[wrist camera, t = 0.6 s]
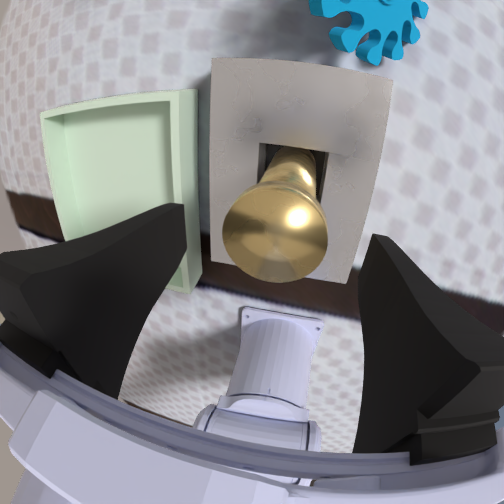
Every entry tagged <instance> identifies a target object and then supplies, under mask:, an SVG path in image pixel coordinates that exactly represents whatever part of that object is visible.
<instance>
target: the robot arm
mask: <svg viewBox="0 0 504 504" xmlns="http://www.w3.org/2000/svg"><path fill="white" fill-rule="evenodd" d="M186 250H187V238H186V225H185V211H184V204H179V203H166V204H163V205H160V206H157V207H155V208H152V209H150V210H148V211H145V212H143V213H141V214H138V215H136V216H134V217H131V218H129V219H127V220H124V221H122V222H119V223H117V224H115V225H112V226H110V227H108V228H105V229H102V230H100V231H97V232H94V233H91V234H88V235H85V236H83V237H79V238H76V239H72V240H68V241H65V242H61V243H58V244H53V245H49V246H44V247H39V248H33V249H27V250H19V251H10V252H3V253H1V254H0V312H1V313H2V315H3V317H4V318H5V320H4V322H3V323H2V324H0V417H1V418H2V419H3V420H4V422H5V423H6V424H7V425H8V426H9V427H10V428H11V429H12V430H13V433H12V435H11V437H10V439H9V443H8V445H9V447H10V450H11V453H12V454H13V455H14V456H15V457H16V458H17V459H18V460H19V462H20V463H21V464H22V465H23V466H25V468H26V469H25V471H24V473H23V475H22V478H21V480H20V482H19V484H18V486H17V489H16V491H15V494H14V496H13V498H12V501H11V503H10V504H497V503H499V502H501V501H503V500H504V427H502V428H500V429H498V430H496V431H495V425H494V423H496V422H497V421H499V418H500V416H499V411H498V409H500V408H501V407H502V406H503V405H504V337H502V336H501V335H499V334H498V333H496V332H495V331H493V330H492V329H490V328H489V327H487V326H485V325H484V324H483V323H481V322H480V321H478V320H477V319H476V318H474V317H473V316H472V315H470V314H469V313H468V312H467V311H465V310H464V309H463V308H461V307H460V306H459V305H458V304H456V303H455V302H454V301H453V300H452V299H451V298H450V297H449V296H447V295H446V294H445V293H444V292H443V291H442V290H441V289H440V288H439V287H437V286H436V285H435V284H434V283H433V282H432V281H431V280H430V279H429V278H428V277H427V276H426V275H425V274H424V273H423V272H422V271H421V269H420V268H419V267H418V266H417V265H416V264H415V263H414V262H413V261H412V260H411V259H410V258H409V257H408V256H407V255H406V254H405V253H404V252H403V250H402V249H401V248H400V247H399V246H398V245H397V244H396V243H395V242H394V241H393V240H391V239H390V238H389V237H388V236H383V235H378V234H372V237H371V240H370V243H369V247H368V250H367V253H366V256H365V259H364V262H363V265H362V268H361V271H360V273H359V276H358V300H359V308H360V317H361V325H362V334H363V343H364V380H363V392H362V402H361V409H360V416H359V423H358V429H357V434H356V438H355V443H354V448H353V452H352V453H330V452H320V449H321V429H320V427H319V426H318V425H317V423H316V422H315V421H308V417H309V410H308V409H306V405H307V397H308V388H309V379H310V369H311V359H312V356H313V354H314V351H315V348H316V346H317V343H318V340H319V338H320V335H321V332H322V330H323V327H324V322H323V321H322V320H319V319H313V318H307V317H300V316H294V315H288V314H283V313H277V312H271V311H266V310H260V309H255V308H250V307H244V308H243V310H242V320H241V342H240V351H239V354H238V357H237V361H236V364H235V367H234V370H233V374H232V377H231V380H230V383H229V387H228V390H227V393H226V396H222V395H221V396H220V398H219V401H218V404H217V405H214V404H210V405H208V406H207V407H206V408H204V409H203V410H201V411H200V413H199V414H198V416H197V418H196V420H195V422H194V425H193V428H191V427H188V426H185V425H182V424H178V423H175V422H172V421H169V420H167V419H164V418H161V417H158V416H155V415H153V414H150V413H147V412H145V411H142V410H140V409H137V408H135V407H132V406H130V405H128V404H125V403H123V402H120V401H118V396H119V392H120V388H121V385H122V381H123V378H124V374H125V371H126V368H127V365H128V363H129V360H130V357H131V354H132V351H133V349H134V346H135V344H136V341H137V339H138V337H139V334H140V332H141V330H142V328H143V325H144V323H145V321H146V319H147V317H148V315H149V313H150V311H151V310H152V308H153V306H154V305H155V303H156V301H157V300H158V298H159V297H160V295H161V294H162V292H163V291H164V289H165V288H166V286H167V284H168V283H169V281H170V280H171V278H172V277H173V275H174V274H175V272H176V270H177V269H178V267H179V265H180V263H181V261H182V259H183V257H184V254H185V252H186ZM247 315H248V316H247ZM317 327H319V328H317ZM101 420H102V421H101ZM103 421H104V422H103ZM105 422H106V423H105ZM107 423H108V424H107ZM109 424H110V425H109ZM124 431H125V432H124ZM133 435H134V436H133ZM140 438H141V439H140ZM145 440H146V441H145ZM150 442H151V443H150ZM155 444H156V445H155ZM166 448H167V449H166ZM312 479H316V480H317V481H315V482H314V486H313V487H309V485H310V482H311V481H312Z"/></svg>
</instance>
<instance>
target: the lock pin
mask: <svg viewBox="0 0 504 504" xmlns="http://www.w3.org/2000/svg"><path fill="white" fill-rule="evenodd" d="M222 239H223V243H224V246H225V249H226V251H227V253H228V255H229V256H230V258H231V259H232V261H233V262H234V263H235V264H236V265H237V266H238V267H239V268H240V269H242V270H243V271H244V272H246V273H247V274H249V275H251V276H253V277H255V278H258V279H260V280H264V281H268V282H277V283H283V282H291V281H295V280H298V279H301V278H303V277H305V276H307V275H309V274H310V273H311V272H313V271H314V270H315V269H316V268H317V267H318V266H319V265H320V263H321V262H322V260H323V258H324V256H325V254H326V251H327V246H328V228H327V219H326V216H325V213H324V210H323V208H322V206H321V205H320V203H319V202H318V201H317V200H316V162H315V158H314V156H313V155H312V153H311V152H310V151H309V150H308V149H305V148H299V147H291V146H284V147H282V148H280V149H279V150H278V151H277V152H276V154H275V155H274V157H273V159H272V161H271V163H270V164H269V166H268V168H267V170H266V172H265V173H264V175H263V177H262V179H261V181H260V182H259V183H258V184H255V185H253V186H251V187H249V188H248V189H246V190H245V191H244V192H242V193H241V194H240V195H239V196H238V198H237V199H236V200H235V202H234V203H233V205H232V206H231V208H230V210H229V211H228V213H227V215H226V217H225V219H224V222H223V227H222Z"/></svg>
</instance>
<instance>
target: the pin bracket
mask: <svg viewBox="0 0 504 504" xmlns="http://www.w3.org/2000/svg"><path fill="white" fill-rule="evenodd" d="M392 85H393V80H391V79H387V78H384V77H380V76H376V75H372V74H368V73H363V72H359V71H354V70H349V69H344V68H339V67H333V66H327V65H320V64H313V63H306V62H297V61H287V60H275V59H257V58H212V68H211V95H210V150H209V182H210V239H211V261H216V262H221V263H227V264H232V265H236V264H235V263H234V262H233V261H232V259H231V258H230V256H229V255H228V253H227V251H226V249H225V246H224V243H223V239H222V227H223V222H224V219H225V217H226V215H227V213H228V211H229V210H230V208H231V206H232V205H233V203H234V202H235V200H236V199H237V198H238V196H239V195H240V194H241V193H242V192H244V191H245V190H246V189H248V188H249V187H251V186H253V185H255V184H258V183H259V182H260V181H261V179H262V177H263V175H264V173H265V160H266V147H267V144H276V145H284V146H291V147H299V148H305V149H312V150H318V151H324V152H326V153H325V160H324V166H323V173H322V179H321V185H320V191H319V196H316V200H317V201H318V202H319V203H320V205H321V206H322V208H323V210H324V213H325V216H326V219H327V228H328V246H327V251H326V254H325V256H324V258H323V260H322V262H321V263H320V265H319V266H318V267H317V268H316V269H315V270H314V271H313V272H311V273H310V274H309V275H307V276H305V277H308V278H314V279H320V280H326V281H332V282H338V283H345V284H346V283H347V280H348V277H349V273H350V270H351V267H352V264H353V261H354V258H355V255H356V251H357V248H358V245H359V241H360V238H361V234H362V231H363V227H364V224H365V220H366V216H367V213H368V209H369V205H370V201H371V197H372V193H373V189H374V185H375V180H376V176H377V172H378V167H379V162H380V158H381V153H382V148H383V142H384V137H385V132H386V126H387V120H388V114H389V107H390V100H391V93H392Z"/></svg>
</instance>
